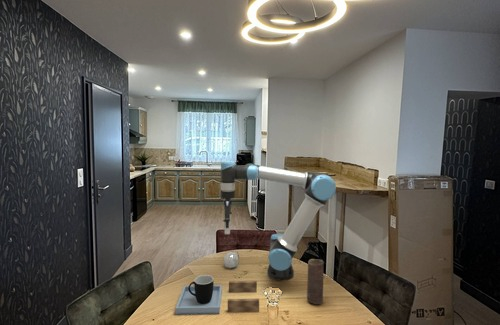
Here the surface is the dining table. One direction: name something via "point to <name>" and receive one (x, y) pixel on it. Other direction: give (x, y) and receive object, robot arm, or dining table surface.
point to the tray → (191, 306)
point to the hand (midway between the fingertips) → (227, 229)
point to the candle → (315, 281)
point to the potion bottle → (231, 259)
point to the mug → (203, 288)
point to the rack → (243, 304)
